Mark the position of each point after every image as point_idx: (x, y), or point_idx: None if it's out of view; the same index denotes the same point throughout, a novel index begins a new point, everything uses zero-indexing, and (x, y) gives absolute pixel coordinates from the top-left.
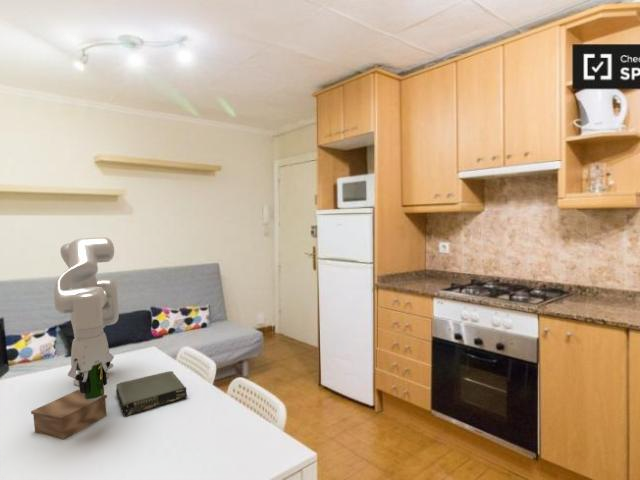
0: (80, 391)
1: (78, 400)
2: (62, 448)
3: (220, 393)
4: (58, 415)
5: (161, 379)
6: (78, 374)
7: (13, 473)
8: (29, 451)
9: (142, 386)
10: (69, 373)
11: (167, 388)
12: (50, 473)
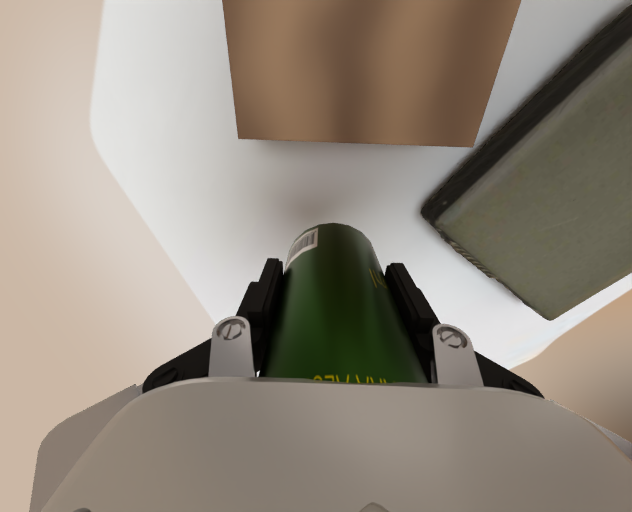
0: (267, 261)
1: (405, 27)
2: (233, 177)
3: (541, 347)
4: (246, 94)
5: None
6: (210, 376)
7: (104, 156)
8: (170, 77)
9: (605, 177)
10: (48, 465)
11: (554, 280)
12: (165, 246)
